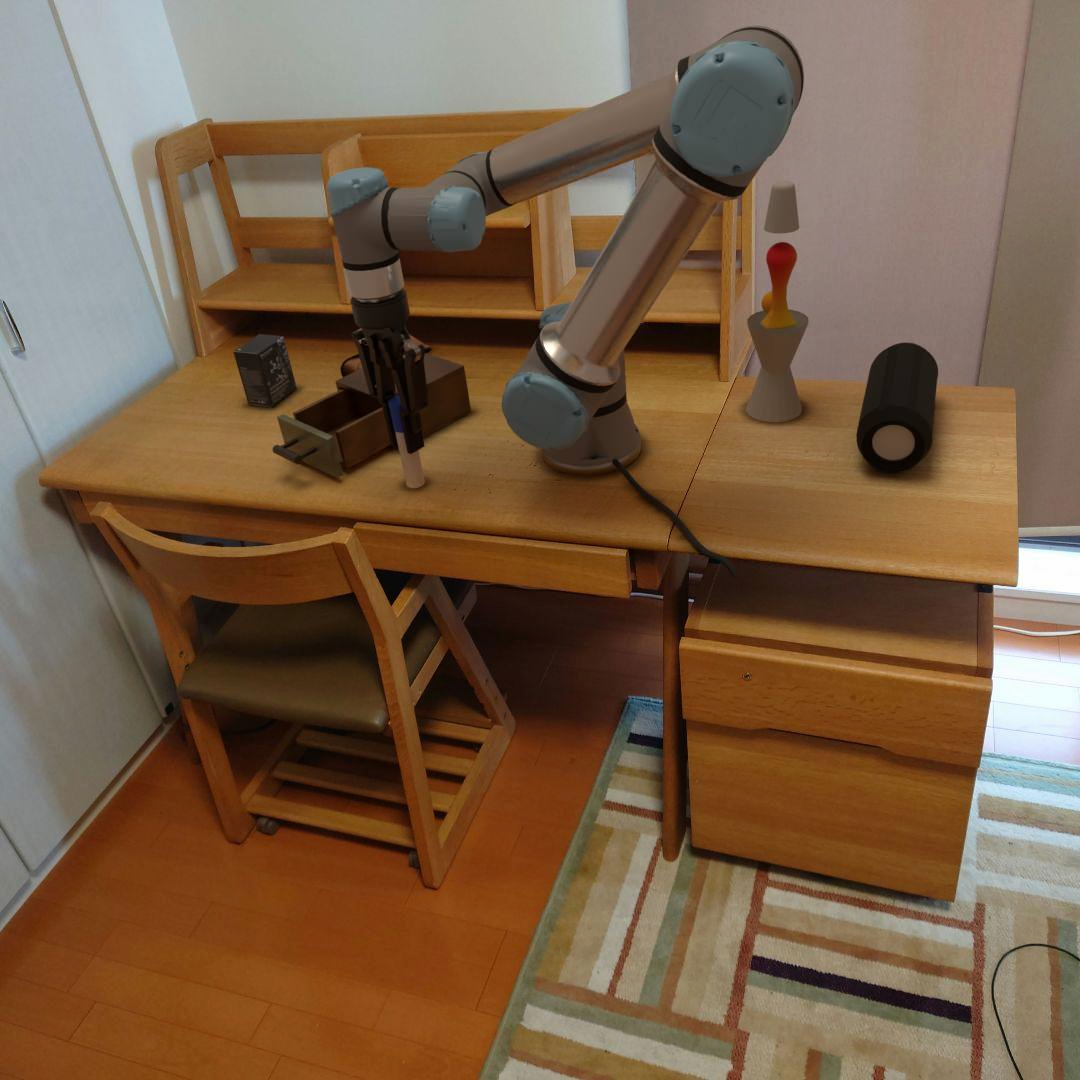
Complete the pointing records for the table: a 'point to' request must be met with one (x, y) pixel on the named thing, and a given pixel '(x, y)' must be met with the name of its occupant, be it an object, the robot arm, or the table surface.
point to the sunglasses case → (354, 361)
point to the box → (265, 370)
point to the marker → (409, 461)
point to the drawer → (334, 432)
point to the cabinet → (442, 390)
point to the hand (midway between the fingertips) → (407, 445)
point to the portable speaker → (898, 408)
